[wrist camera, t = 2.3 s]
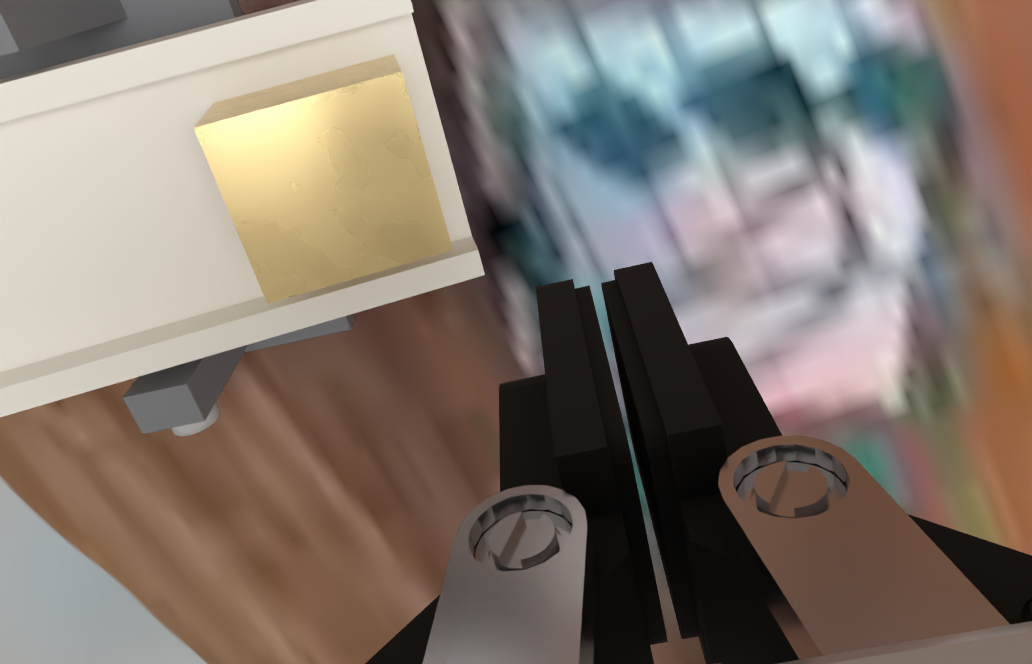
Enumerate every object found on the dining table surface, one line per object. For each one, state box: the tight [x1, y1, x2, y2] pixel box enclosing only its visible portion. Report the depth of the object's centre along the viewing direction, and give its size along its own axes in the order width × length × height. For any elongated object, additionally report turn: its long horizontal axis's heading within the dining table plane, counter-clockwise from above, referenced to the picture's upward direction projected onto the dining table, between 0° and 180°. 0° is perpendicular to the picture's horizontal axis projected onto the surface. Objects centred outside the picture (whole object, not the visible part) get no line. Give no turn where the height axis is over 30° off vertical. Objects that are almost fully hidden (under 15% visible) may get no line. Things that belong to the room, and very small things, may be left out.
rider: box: [194, 54, 453, 304], centre depth 25 cm, size 6×6×4 cm
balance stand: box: [0, 0, 354, 436], centre depth 29 cm, size 10×17×8 cm, turn 13°
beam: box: [0, 0, 485, 417], centre depth 28 cm, size 24×10×6 cm, turn 102°
